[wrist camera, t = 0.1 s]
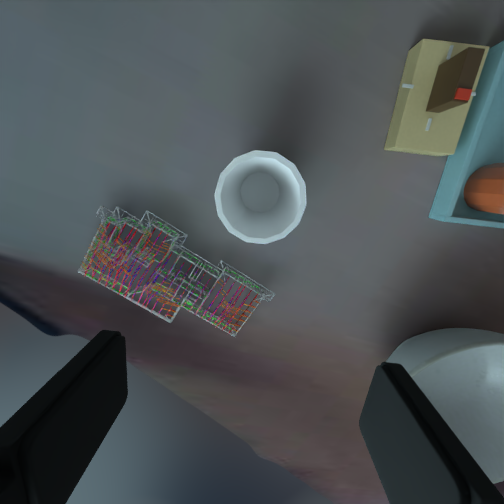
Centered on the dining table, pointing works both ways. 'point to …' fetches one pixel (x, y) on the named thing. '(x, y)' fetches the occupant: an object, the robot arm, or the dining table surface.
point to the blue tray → (475, 147)
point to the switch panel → (416, 100)
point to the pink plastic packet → (159, 269)
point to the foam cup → (260, 197)
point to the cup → (486, 189)
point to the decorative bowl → (463, 387)
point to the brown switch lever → (455, 80)
